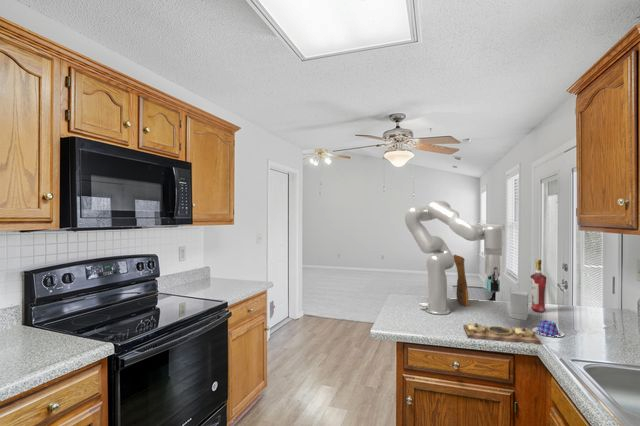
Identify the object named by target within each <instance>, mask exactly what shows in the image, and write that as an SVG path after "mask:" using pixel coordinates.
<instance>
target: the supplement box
mask: <svg viewBox="0 0 640 426" xmlns="http://www.w3.org/2000/svg"><path fill="white" fill-rule="evenodd" d="M528 317H529V292H525V291H517V290H516V291H515V290H513V291H511V292H510V318H512V319H516V320H522V321H527V320H528Z"/></svg>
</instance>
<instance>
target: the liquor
mask: <svg viewBox="0 0 640 426" xmlns="http://www.w3.org/2000/svg"><path fill="white" fill-rule="evenodd" d="M530 290H531V307H530V309H531V310H532V311H533V312H535V313H544V312H545V311H547V308H546V293H547V276H546V275H544V274H543V273H542V259H535V273H533V274H531V275H530Z"/></svg>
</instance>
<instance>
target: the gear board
mask: <svg viewBox="0 0 640 426" xmlns="http://www.w3.org/2000/svg"><path fill="white" fill-rule="evenodd" d="M462 326H463V331H464V332H465V335H466V337H467V339H473V340H474V339H475V340H486V341H497V342H507V343H519V342H523V343H522V344H530V343H534V344H533V345H541V343H542V342H541V341H542V340H541V339H540V338H538V336H537V335H536V332H535V331H533V330H531V329H529V328H527V327H525V326H522V327H517V326H515V327H513V328H511V327H503V326H495V325H492V326H486V325H485V326H484V325H482V324H479V323H476V322H475V323H474V324H473V323H468V324H463V325H462Z"/></svg>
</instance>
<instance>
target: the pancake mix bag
mask: <svg viewBox="0 0 640 426" xmlns="http://www.w3.org/2000/svg"><path fill="white" fill-rule="evenodd" d="M453 257H454V260H455V263H454V265H455V266H456V267H455V268H456V272H457V279H456V281H457V282H456V301H457V303H459V305H460V306H463V307H464V306H465V307H466V306H469V304H470V303H469V300H470V299H469V292H468V291H469V290H468V283H467V278H466V271H465V270H466V269H465V261H466V260H465V258H464V257H462V256H460V255H456V254H454V255H453Z"/></svg>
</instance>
